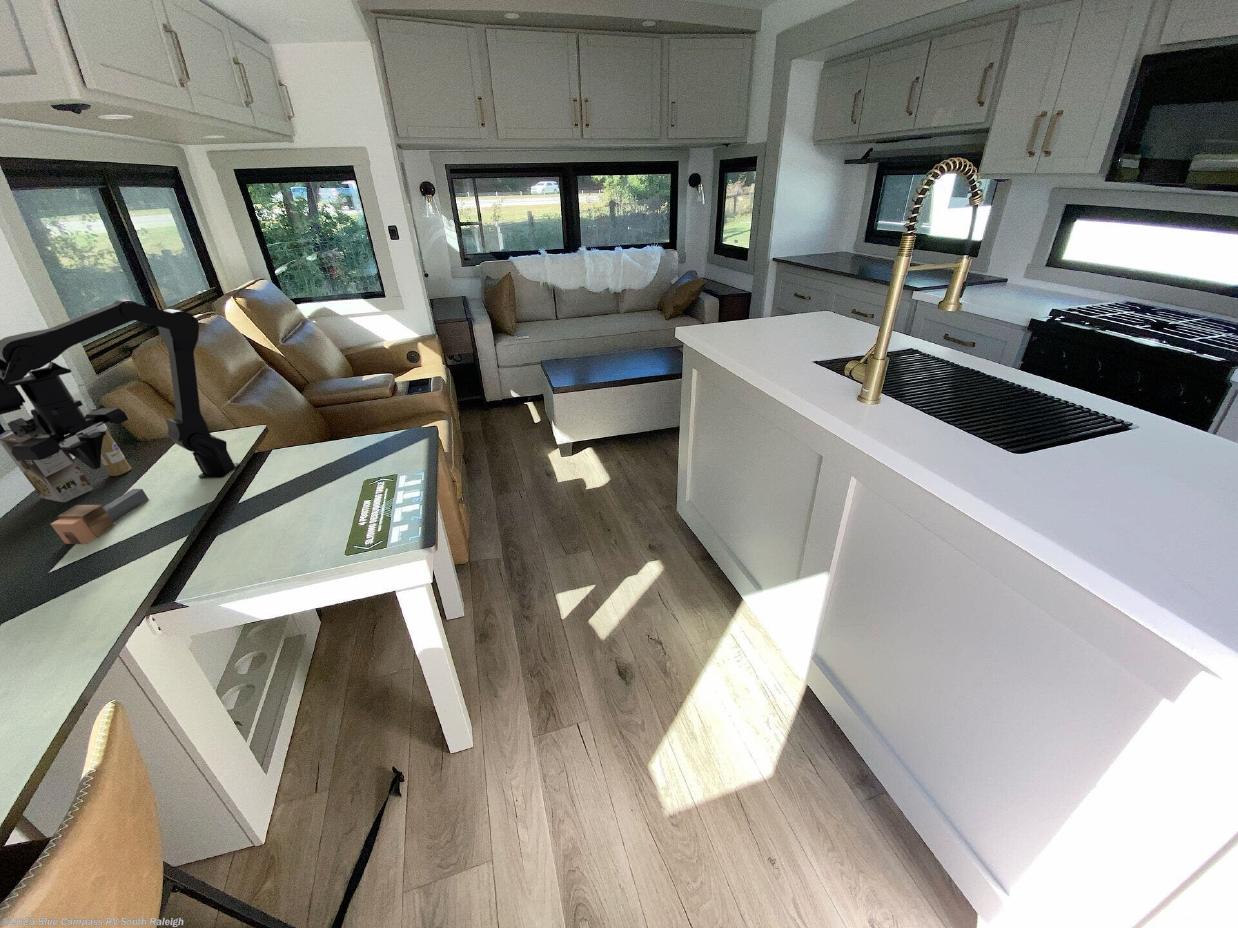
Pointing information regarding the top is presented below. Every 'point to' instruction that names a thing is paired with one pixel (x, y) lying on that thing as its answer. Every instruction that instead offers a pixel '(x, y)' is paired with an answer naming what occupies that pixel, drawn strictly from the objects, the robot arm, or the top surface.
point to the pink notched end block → (73, 530)
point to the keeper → (91, 517)
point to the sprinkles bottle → (112, 455)
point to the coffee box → (50, 472)
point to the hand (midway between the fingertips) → (96, 468)
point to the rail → (120, 507)
